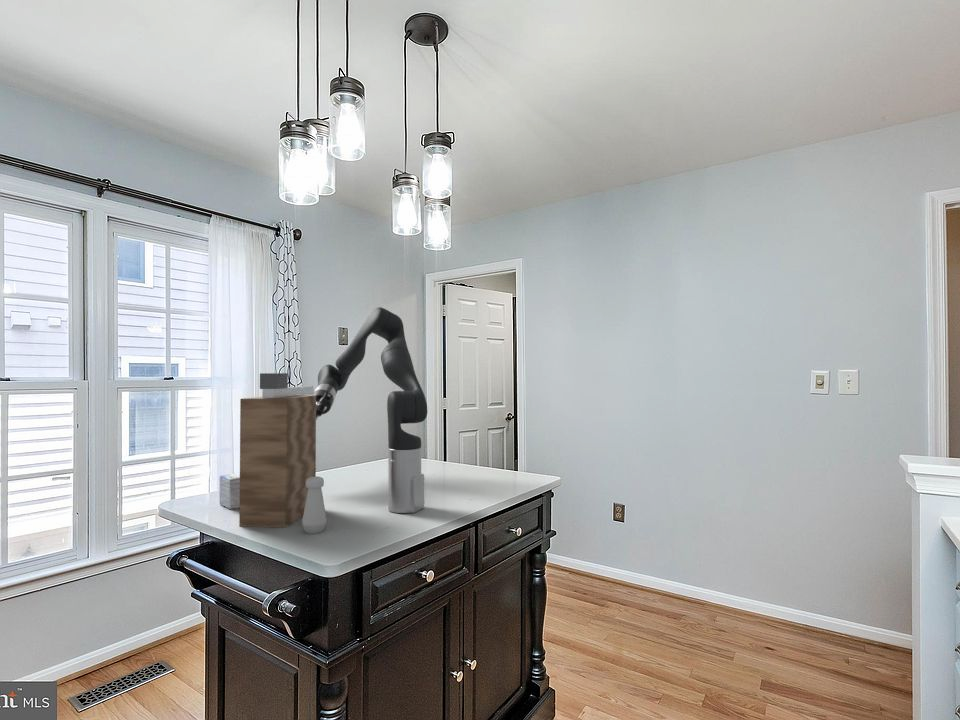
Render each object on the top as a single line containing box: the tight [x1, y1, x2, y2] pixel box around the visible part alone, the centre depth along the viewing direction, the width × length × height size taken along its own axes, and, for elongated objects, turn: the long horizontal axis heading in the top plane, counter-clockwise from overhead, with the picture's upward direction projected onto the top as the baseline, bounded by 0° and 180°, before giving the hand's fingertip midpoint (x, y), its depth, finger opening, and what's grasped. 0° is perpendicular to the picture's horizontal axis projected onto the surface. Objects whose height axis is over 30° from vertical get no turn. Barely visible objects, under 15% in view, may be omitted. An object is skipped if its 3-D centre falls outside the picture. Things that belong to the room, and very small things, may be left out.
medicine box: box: [219, 473, 240, 510], centre depth 148 cm, size 8×4×9 cm, turn 47°
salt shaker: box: [301, 476, 328, 535], centre depth 124 cm, size 6×6×13 cm
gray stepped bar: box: [259, 372, 315, 398], centre depth 143 cm, size 24×4×6 cm, turn 174°
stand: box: [238, 395, 317, 528], centre depth 137 cm, size 18×12×32 cm, turn 174°
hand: (310, 423), depth 158 cm, fingers open, 8 cm apart
